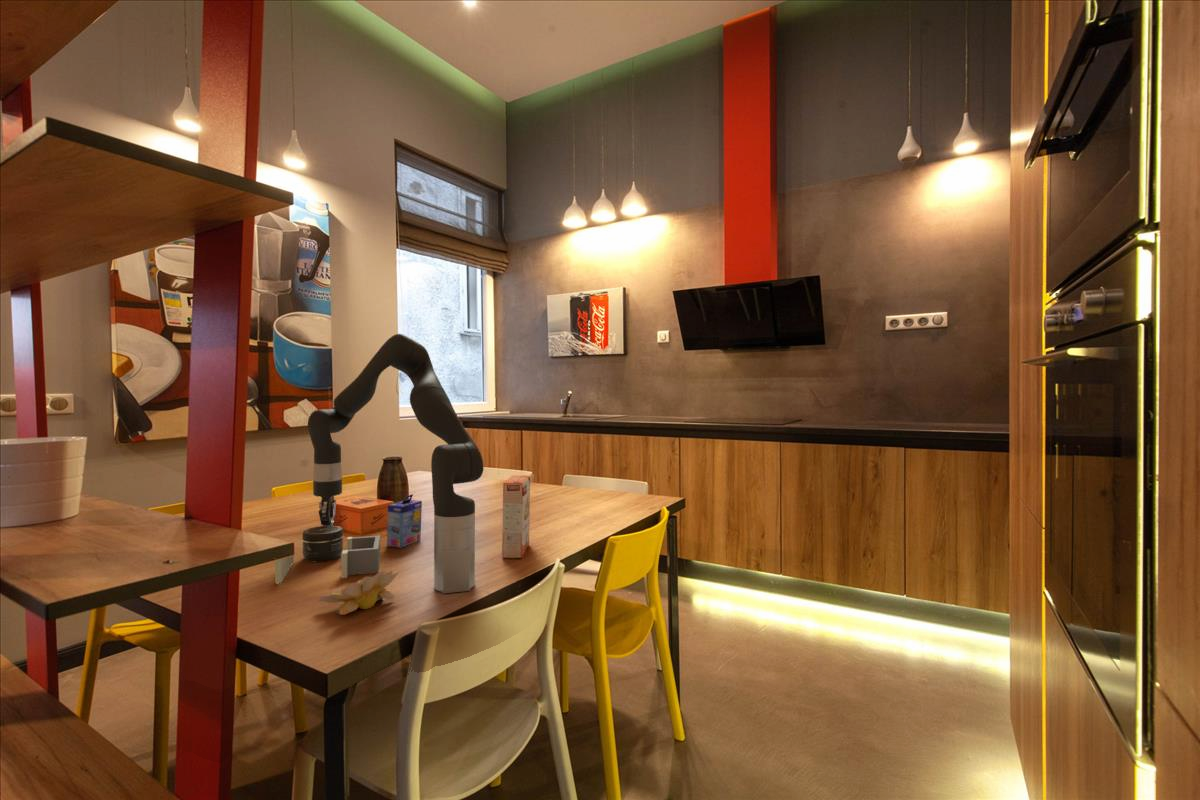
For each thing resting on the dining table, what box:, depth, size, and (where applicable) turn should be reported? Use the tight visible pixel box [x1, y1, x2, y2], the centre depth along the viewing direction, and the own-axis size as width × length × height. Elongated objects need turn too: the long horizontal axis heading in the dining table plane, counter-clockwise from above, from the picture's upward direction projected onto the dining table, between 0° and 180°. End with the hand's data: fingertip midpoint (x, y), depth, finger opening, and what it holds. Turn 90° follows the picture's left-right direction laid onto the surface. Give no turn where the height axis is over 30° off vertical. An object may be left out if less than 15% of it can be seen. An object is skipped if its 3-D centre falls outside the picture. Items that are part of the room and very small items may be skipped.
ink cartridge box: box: [386, 493, 423, 549], centre depth 168 cm, size 10×6×14 cm, turn 163°
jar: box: [301, 525, 344, 563], centre depth 153 cm, size 10×10×8 cm
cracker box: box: [501, 474, 531, 559], centre depth 160 cm, size 14×6×21 cm, turn 179°
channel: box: [274, 535, 381, 585], centre depth 143 cm, size 16×22×6 cm
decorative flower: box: [318, 570, 399, 616], centre depth 120 cm, size 15×11×10 cm
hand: (327, 537), depth 163 cm, fingers closed
